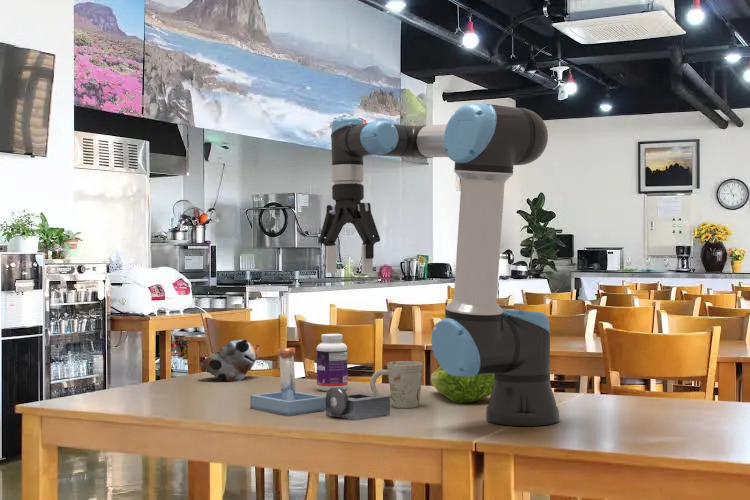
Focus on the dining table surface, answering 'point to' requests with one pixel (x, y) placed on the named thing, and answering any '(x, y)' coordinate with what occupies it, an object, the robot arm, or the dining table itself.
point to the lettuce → (462, 386)
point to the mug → (402, 382)
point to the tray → (288, 403)
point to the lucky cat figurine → (232, 360)
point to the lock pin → (287, 373)
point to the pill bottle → (331, 362)
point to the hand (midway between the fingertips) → (348, 273)
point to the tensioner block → (356, 404)
